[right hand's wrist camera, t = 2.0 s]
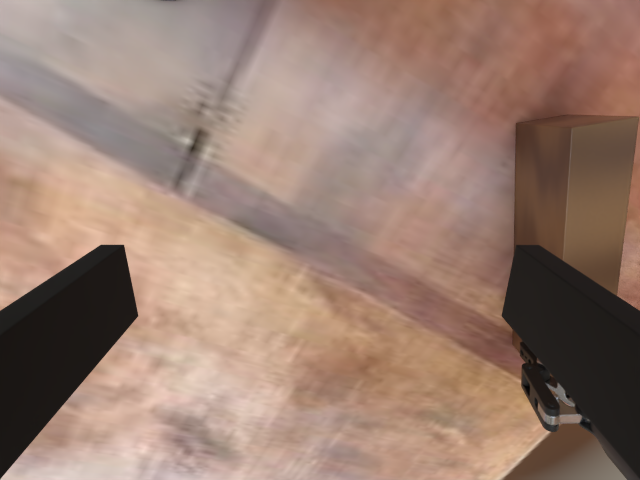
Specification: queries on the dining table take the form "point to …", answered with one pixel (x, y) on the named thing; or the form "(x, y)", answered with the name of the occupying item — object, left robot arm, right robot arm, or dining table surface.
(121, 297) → the right robot arm
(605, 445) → the left robot arm
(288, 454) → the dining table surface
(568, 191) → the bar
